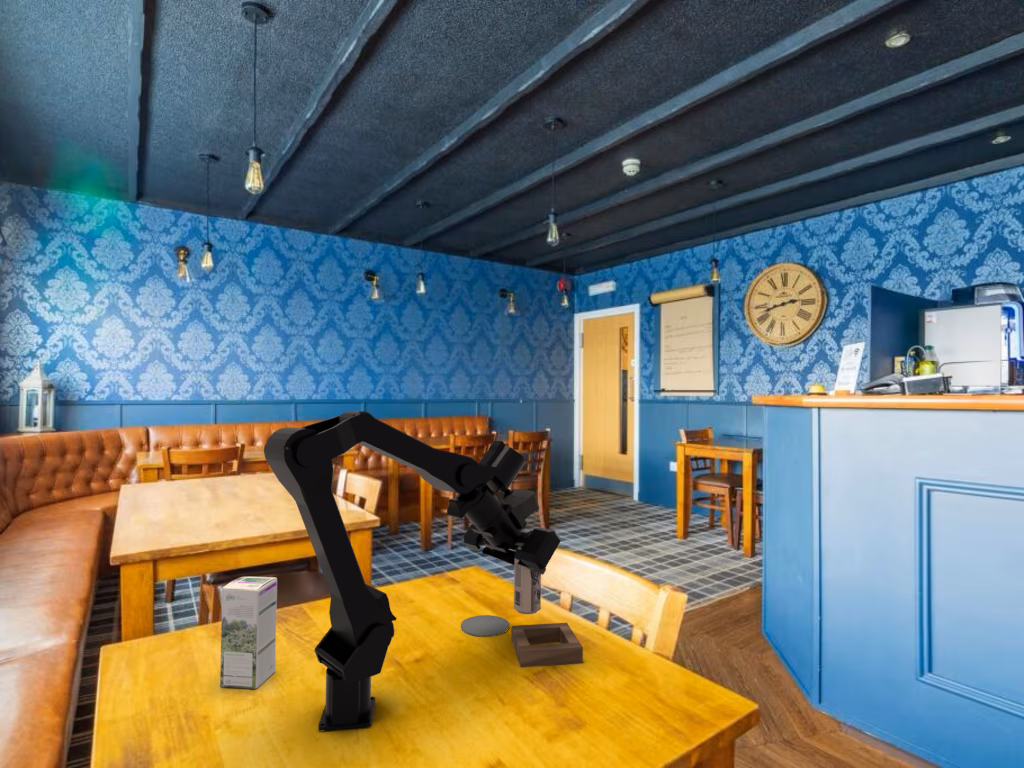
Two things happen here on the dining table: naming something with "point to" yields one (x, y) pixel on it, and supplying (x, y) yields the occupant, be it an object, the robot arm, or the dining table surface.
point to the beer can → (526, 588)
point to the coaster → (484, 625)
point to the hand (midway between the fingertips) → (533, 568)
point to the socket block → (548, 653)
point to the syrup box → (248, 632)
